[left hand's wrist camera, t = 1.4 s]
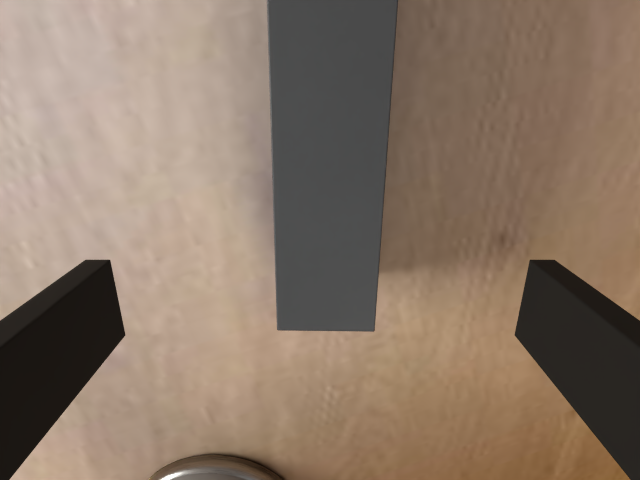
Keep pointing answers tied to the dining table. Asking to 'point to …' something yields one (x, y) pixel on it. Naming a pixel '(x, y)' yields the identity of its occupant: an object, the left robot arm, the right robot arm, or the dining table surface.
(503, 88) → the dining table surface
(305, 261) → the post
